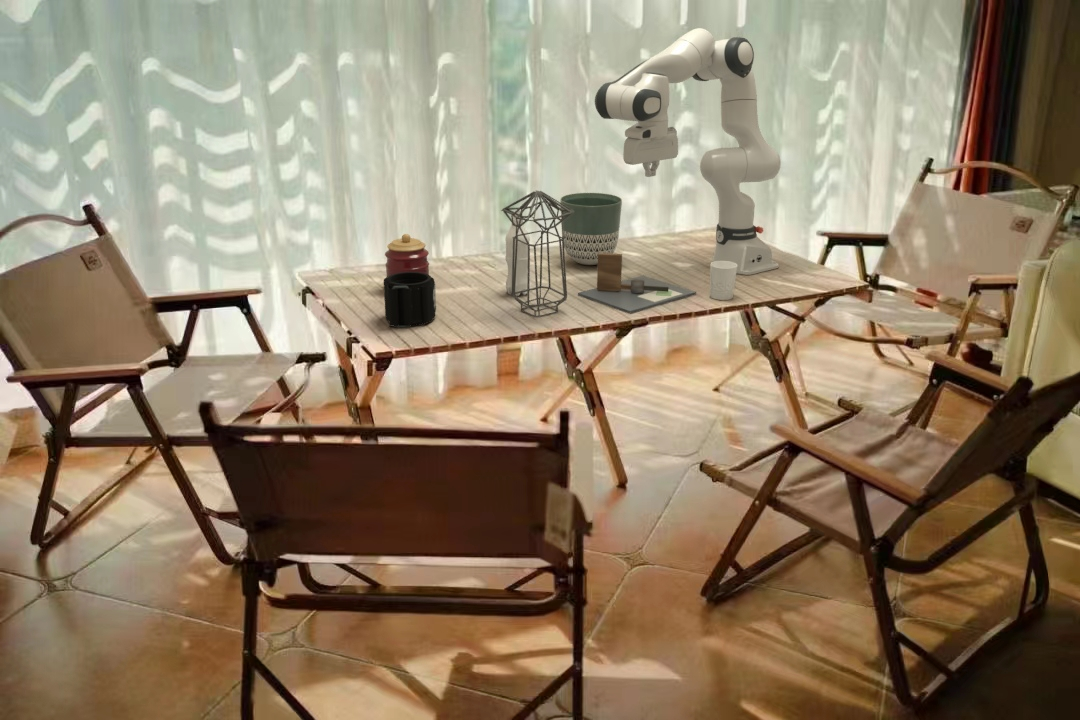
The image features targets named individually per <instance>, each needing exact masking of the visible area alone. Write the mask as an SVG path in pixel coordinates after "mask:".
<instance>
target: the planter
mask: <svg viewBox="0 0 1080 720" xmlns="http://www.w3.org/2000/svg"><path fill="white" fill-rule="evenodd" d="M559 202H560V203H562V204H564V205H565V206H567V207H569V208H570V209H572V210H573V211H574V212H573V213H572V214H571V215H570V216H569V217H567V218H566V219H565V220H564V221H562V223H563V234H564V251H565V252H566V254H567V255H568V256H569V258H570V259H571V260H573V261H574V262H576V263H578V264H580V265H584V266H596V265H597V266H598V253H613V254H615V251H616V248H617V245H618V242H619V236H620V235H619V234H620V229H621V228H620V226H621V225H620V224H621V215H622V214H621V213H622V203H623V199H622V198H621V197H620V196H617V195H614V194H609V193H603V192H602V193H601V192H577V193H570V194H565V195H564V196H562V197H560V201H559ZM562 206H563V205H562ZM565 206H564V207H565ZM565 208H566V207H565ZM562 209H563V208H562ZM567 209H568V208H567ZM570 209H568V210H570ZM567 213H569V212H565V211H564V214H567ZM560 215H562V212H561V211H560ZM560 219H562V217H561V218H560ZM560 224H561V223H560ZM561 227H562V224H561ZM561 237H563V235H562V234H561Z"/></svg>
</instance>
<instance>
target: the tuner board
mask: <svg viewBox="0 0 1080 720" xmlns="http://www.w3.org/2000/svg"><path fill="white" fill-rule="evenodd" d="M633 279H641V280H644V286H660V287H669V288H668V292H665V291H648V290H644V292H643V293H632V292H631V290H624V289H621V291H605V290H597V287H595V288H590V289H587V290H584V291H579V292H577V296H578V297H582V298H585V299H587V300H590V301H594V302H596V303H598V304H602V305H603V306H604V305H605V306H608V307H610V308H612V309H616V310H619V311H621V312H623V313H627V314H630V315H631V314H634V313H637V312H640V311H641V312H642V311H645V310H648V309H651V308H655V307H658V306H662V305H665V304H668V303H671V302H675V301H679V300H682V299H686V298H689V297H692V296H695V295H697V291H694V290H691V289H689V288H686V287H682V286H679V285H675V284H672V283H669V282H666V281H663V280H660V279H655V278H652V277H651V276H647V275H644V274H643V275H640V276H636V277H632V278H629V279H625V280H621V284H631V280H633Z"/></svg>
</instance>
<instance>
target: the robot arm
mask: <svg viewBox="0 0 1080 720" xmlns="http://www.w3.org/2000/svg"><path fill="white" fill-rule="evenodd" d="M754 53H755V52H754V48H753V45H752V44H751V42H750V41H749V40H748V39H747V38H745V37H740V36H739V37H738V36H737V37H735V36H734V37H731V38H725V39H719V40H716V41H715V38H714V36H713V35H712V33H711V32H710V31H708V30H707V29H705V28H702V27H701V28H700V27H698V28H694V29H691V30H689V31H688V32H686V33H685V34H682V35H681V36H680V37H678V38H677V39H676V40H675V41H674V42H672V43H671V44H670V45H669V46H667V48H665V49H663V50H662V51H660V52H658V53H657V54H655V55H653V56H652V57H649V58H648V59H646V60H644V61H642V62H641V63H640V62H639V64H637V65H636V66H635V67H633V68H631V69H630V70H629V71H627V72H626V73H624V74H623V75H621V76H620V77H619V78H617V79H616V80H613V81H611V82H605V83H603V84H602V85H601V86H599V87H600V88H599V89H598V90H597V91H596V94H595V97H594V106H595V109H596V112H597V113H598V114H599V116H600V117H601V118H602V119H604V120H605V119H606V120H620V121H621V120H622V121H627V122H628V121H629V122H630V121H632V122H636V123H634V124H632V125H631V126H630V127H628V128H627V129H625V131H624V137H626V139H625V141H624V144H623V154H622V155H623V156H622V157H623V162H624V163H625V164H626V165H630V166H631V165H632V166H633V165H640V164H642V166H643V170H644V176H645V177H647V178H650V177H655V176H657V171H658V169H659V165H660V162H661V161H664V160H670V159H671V160H672V159H676V158H677V157H678V155H679V142H678V141H679V139H678V132H677V130H676V128H675V127H674V126H670V127H669V114H668V110H669V107H670V106H669V105H670V84H681V83H683V82H685V81H687V80H689V79H691V78H692V79H693V80H696V81H699V82H707V81H711V80H715V81H716V80H719V82H720V85H721V88H720V89H721V90H720V112H721V113H720V114H721V115H720V116H721V118H720V119H721V120H720V121H721V123H720V124H721V127H722V129H723V131H724V132H725V133H726V134H728V135H730V136H732V137H734V138H735V140H736V141H737V143H738V146H739V147H737V146H736V147H734V146H733V147H719V148H714V149H711V150H707V151H705V152H704V154H703V155H702V157H701V159H700V162H699V163H700V165H699V169H700V170H699V171H700V173H701V176H702V177H703V179H704V180H705V181H706V182H708V183H709V184H710V185H711V186H712V188H713V189H714V191H715V193H716V196H717V199H718V222H717V224H716V231H715V239H716V240H715V241H716V242H715V247H714V253H713V257H712V260H711V263H712V262H715V261H729V262H733V263H736V264H737V273H736V274H738V275H746V276H750V275H755V274H758V273H764V272H767V271H771V270H775V269H779V267H780V266H779V263H778V262H776V261H775V260H773V252H772V249H771V248H770V246H769V245H768V244H766V243H765V242H764V241H763V239H762V240H761V238H760V237H758V235H757V233H758V234H763V233H764V228H763V227H762V226H760V225H759V226H756V225H754V217H755V202H754V200H753V198H752V197H751V196H749V195H748V194H746V193H744V192H742V191H741V188H740V184H741V183H761V182H764V181H768V180H773V179H775V178H776V177H777V175H778V174H779V172H780V168H781V164H782V163H781V158H780V155H779V153H778V151H777V150H776V149H775V148H773V147H772V146H771V145H769V143H768V142H767V140H766V139H765V138H764V136H763V134H762V132H761V129H760V124H759V119H758V118H759V117H758V116H759V115H758V98H757V96H758V95H757V85H756V80H755V75H754V72H753V70H752V68H753V67H752V66H753V64H754V58H755V54H754ZM650 166H651V167H650Z"/></svg>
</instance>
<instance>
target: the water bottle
mask: <svg viewBox="0 0 1080 720" xmlns="http://www.w3.org/2000/svg"><path fill="white" fill-rule="evenodd" d="M512 211H513V212H515V211H516V210H512ZM520 212H521V210H519V211H518V212H517V214H520ZM512 216H513V215H512ZM515 216H517V215H515ZM522 216H524V212H523V213H522ZM519 220H520V219H517V221H518V224H519ZM513 222H514V223H515V224H516V225H517V223H516V218H515V217H514V216H513ZM523 222H524V220H521V223H523ZM521 223H520V224H521ZM517 228H518V227H517ZM521 229H522V231H523V233H524V234H525V233H529V232H528V229H526V226H525V224H523V225H522V226H521ZM520 234H522V233H521V231H520V229H519V231H518V235H520ZM515 235H516V226H514V225H512V223H511V224H510V227H509V229H508V231H507V233H506V236H505V238H504V239H505V262H506V266H507V276H506V277H507V278H506V281H505V288H506V291H507V293H508V294H509V295H512V260H513V238H512V237H515ZM525 236H526V238H527V240H528V242H529V243H530V241H531V240H530V239H531V238H530V234H527V235H525ZM518 239H519V240H521V241H523V242H525V243H527V242H526V240H525V238H524V236H523V235H521V236H518ZM515 248H516V240H515ZM514 267H515V255H514ZM527 287H528V245H526V244H524V243H522V242H520V241H518V245H517V264H516V284H515V292H518V291H522V290H526V289H527ZM530 287H531V282H530V281H529V288H530ZM515 295H516V296H517V297H519V296H520V295H523V296H526V295H527V291H526V292H522V293H517V294H515Z"/></svg>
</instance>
